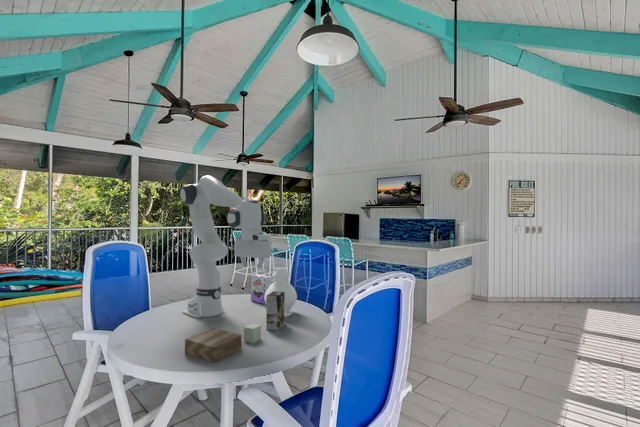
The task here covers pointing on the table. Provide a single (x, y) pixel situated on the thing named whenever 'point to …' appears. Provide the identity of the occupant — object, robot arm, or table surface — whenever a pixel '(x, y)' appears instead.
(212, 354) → the walnut block
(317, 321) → the table surface
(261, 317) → the table surface
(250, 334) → the sage block
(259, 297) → the candy box
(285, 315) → the decorative vase
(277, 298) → the coffee box
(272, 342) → the table surface
